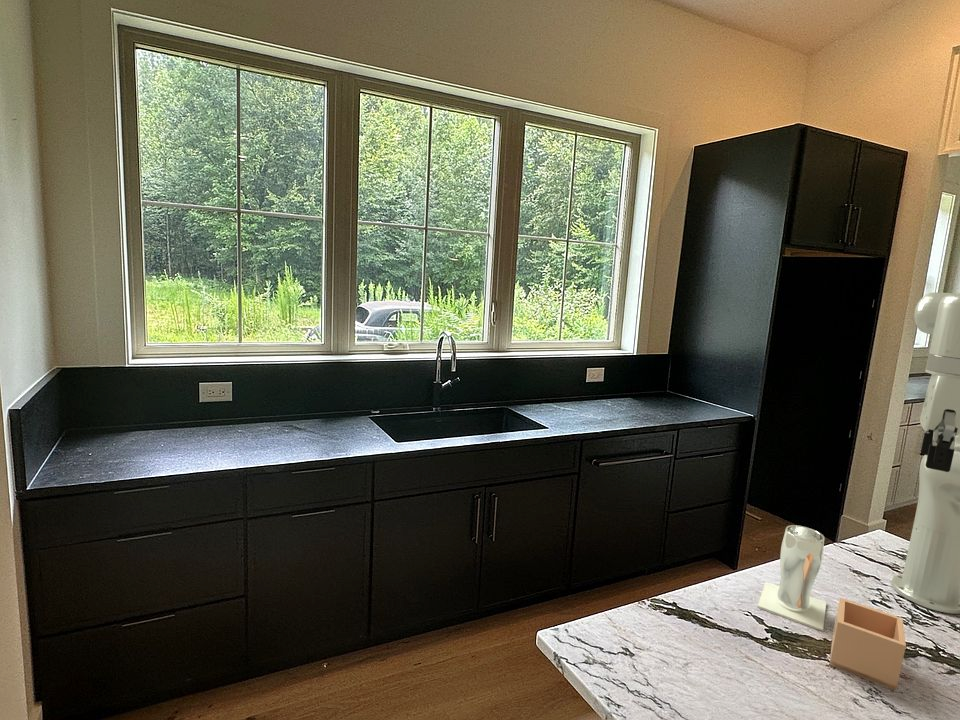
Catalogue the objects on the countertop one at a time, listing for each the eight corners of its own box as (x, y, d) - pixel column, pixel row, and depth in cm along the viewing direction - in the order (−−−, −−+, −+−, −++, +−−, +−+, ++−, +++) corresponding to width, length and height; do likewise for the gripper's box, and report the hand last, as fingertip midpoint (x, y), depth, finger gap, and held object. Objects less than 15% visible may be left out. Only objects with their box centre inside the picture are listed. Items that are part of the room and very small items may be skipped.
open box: (832, 637, 99) (839, 597, 98) (893, 660, 94) (902, 618, 93) (829, 665, 92) (837, 622, 91) (896, 691, 87) (905, 645, 86)
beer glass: (818, 617, 105) (832, 544, 102) (779, 610, 106) (792, 538, 103) (804, 596, 111) (817, 527, 109) (767, 590, 113) (779, 522, 110)
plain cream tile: (765, 583, 116) (765, 581, 116) (826, 603, 110) (826, 602, 110) (757, 607, 107) (757, 605, 107) (822, 631, 101) (823, 629, 101)
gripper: (922, 359, 103) (904, 446, 106) (931, 369, 89) (910, 469, 92) (975, 365, 99) (955, 455, 102) (993, 377, 85) (969, 481, 88)
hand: (934, 462), depth 97 cm, fingers open, 9 cm apart
